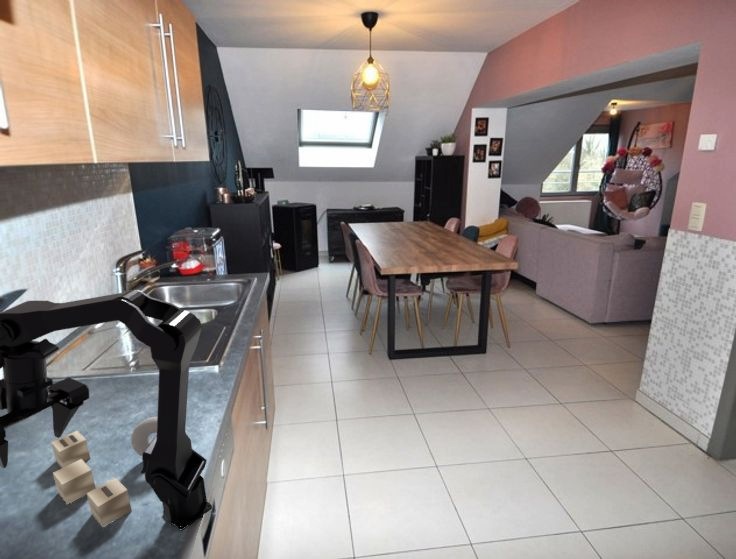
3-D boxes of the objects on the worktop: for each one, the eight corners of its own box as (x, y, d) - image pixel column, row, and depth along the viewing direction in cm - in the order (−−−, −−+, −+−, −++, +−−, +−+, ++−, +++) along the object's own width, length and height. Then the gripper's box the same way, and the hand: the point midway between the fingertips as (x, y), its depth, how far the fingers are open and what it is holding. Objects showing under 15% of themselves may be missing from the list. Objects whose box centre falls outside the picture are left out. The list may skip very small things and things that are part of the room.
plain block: (86, 478, 89) (81, 458, 88) (96, 490, 86) (91, 469, 85) (58, 493, 85) (52, 472, 84) (67, 505, 82) (62, 484, 81)
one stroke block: (120, 498, 84) (115, 477, 82) (131, 511, 81) (127, 489, 80) (91, 515, 80) (86, 492, 79) (103, 528, 77) (97, 506, 76)
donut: (185, 448, 98) (179, 410, 95) (183, 458, 95) (177, 419, 92) (137, 455, 95) (129, 417, 93) (133, 466, 92) (125, 426, 89)
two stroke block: (81, 449, 98) (77, 430, 96) (90, 458, 95) (85, 439, 93) (56, 461, 94) (50, 441, 92) (64, 471, 91) (59, 451, 90)
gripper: (48, 341, 84) (52, 409, 88) (-75, 384, 67) (-62, 466, 71) (90, 359, 80) (92, 429, 85) (-28, 408, 63) (-18, 492, 68)
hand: (31, 450), depth 77 cm, fingers open, 9 cm apart
